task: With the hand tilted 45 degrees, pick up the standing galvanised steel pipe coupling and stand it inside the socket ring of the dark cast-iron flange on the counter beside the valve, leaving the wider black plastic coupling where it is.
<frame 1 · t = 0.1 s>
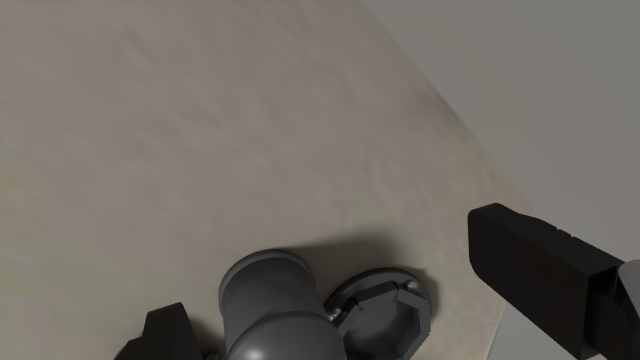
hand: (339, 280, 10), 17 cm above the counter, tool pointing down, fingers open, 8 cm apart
flange: (372, 318, 36), on the counter
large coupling: (266, 289, 31), on the counter
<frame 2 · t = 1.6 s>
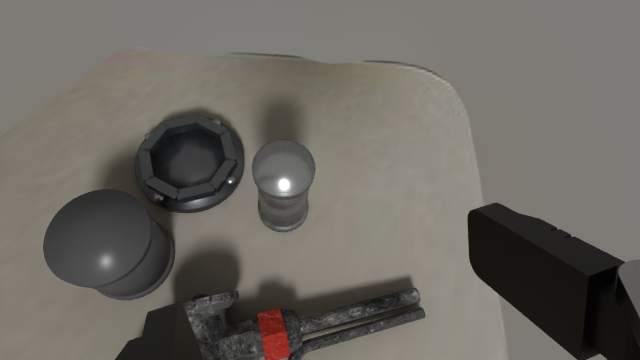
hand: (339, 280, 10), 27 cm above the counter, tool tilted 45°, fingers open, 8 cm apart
fitting: (283, 208, 40), on the counter
flange: (192, 164, 41), on the counter
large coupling: (133, 258, 37), on the counter
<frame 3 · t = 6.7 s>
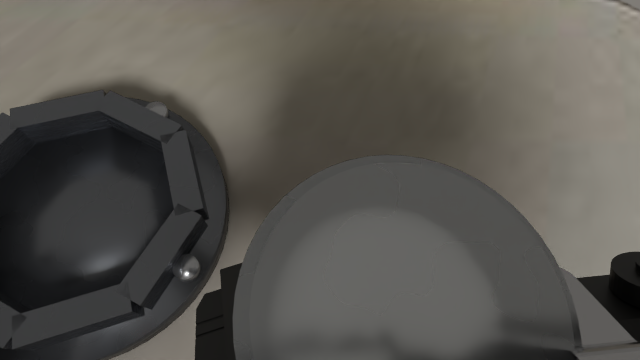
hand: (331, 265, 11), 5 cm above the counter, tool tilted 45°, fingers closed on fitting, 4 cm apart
fitting: (335, 341, 14), on the counter, touching gripper
flange: (93, 219, 16), on the counter
when the fingers open (7 cm above the counter, at t = 11.7 s): fitting stays where it is, resting on flange.
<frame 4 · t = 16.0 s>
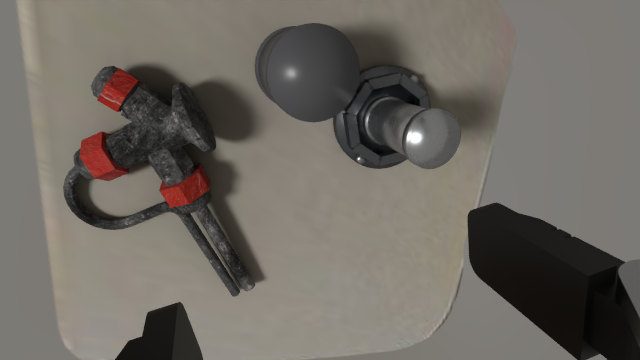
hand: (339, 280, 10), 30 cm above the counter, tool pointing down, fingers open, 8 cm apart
valve: (165, 197, 39), on the counter
fitting: (384, 119, 41), point 1 cm above the counter, touching flange
flange: (381, 117, 42), on the counter
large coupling: (293, 68, 38), on the counter
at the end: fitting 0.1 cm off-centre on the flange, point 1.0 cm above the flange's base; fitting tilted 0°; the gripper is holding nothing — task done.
